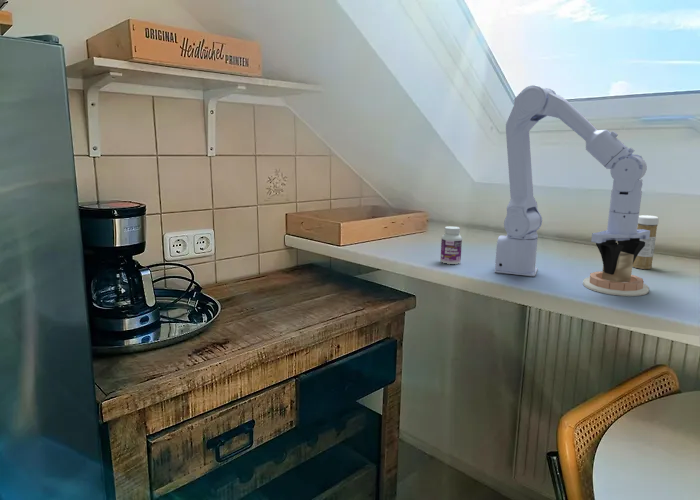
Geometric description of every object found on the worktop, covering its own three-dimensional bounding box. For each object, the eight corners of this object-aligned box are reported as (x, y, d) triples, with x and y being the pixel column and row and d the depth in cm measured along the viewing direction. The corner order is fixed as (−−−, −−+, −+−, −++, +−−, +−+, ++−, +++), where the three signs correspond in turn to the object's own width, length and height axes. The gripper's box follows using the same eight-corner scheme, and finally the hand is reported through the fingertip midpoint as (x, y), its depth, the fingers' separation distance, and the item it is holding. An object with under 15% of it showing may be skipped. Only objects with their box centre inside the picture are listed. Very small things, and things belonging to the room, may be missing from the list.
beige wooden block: (616, 282, 107) (619, 256, 105) (601, 278, 110) (604, 252, 109) (630, 281, 108) (633, 254, 107) (615, 276, 112) (618, 251, 110)
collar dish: (582, 291, 107) (583, 281, 106) (583, 276, 118) (584, 267, 118) (651, 299, 101) (653, 288, 101) (645, 283, 113) (647, 273, 112)
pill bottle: (444, 265, 129) (445, 229, 127) (437, 260, 134) (439, 226, 132) (463, 264, 130) (465, 228, 128) (456, 260, 135) (458, 225, 133)
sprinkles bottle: (638, 264, 130) (644, 214, 127) (655, 268, 126) (662, 216, 123) (627, 266, 128) (634, 215, 125) (645, 270, 124) (652, 217, 121)
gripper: (613, 215, 100) (606, 280, 103) (665, 212, 105) (657, 274, 107) (586, 211, 106) (580, 272, 109) (637, 208, 111) (629, 266, 114)
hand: (616, 272), depth 109 cm, fingers closed on beige wooden block, 4 cm apart
